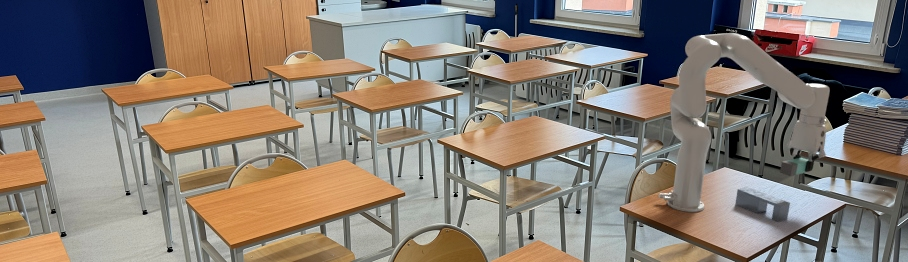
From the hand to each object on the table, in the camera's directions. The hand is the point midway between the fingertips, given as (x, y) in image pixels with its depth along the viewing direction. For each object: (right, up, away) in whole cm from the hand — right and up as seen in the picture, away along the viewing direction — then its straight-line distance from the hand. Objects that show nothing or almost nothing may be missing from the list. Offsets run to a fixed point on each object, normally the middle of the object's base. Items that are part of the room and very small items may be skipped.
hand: (801, 168), depth 230 cm
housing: (-15, -15, -1) cm, 21 cm away
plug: (-4, -1, -2) cm, 4 cm away
